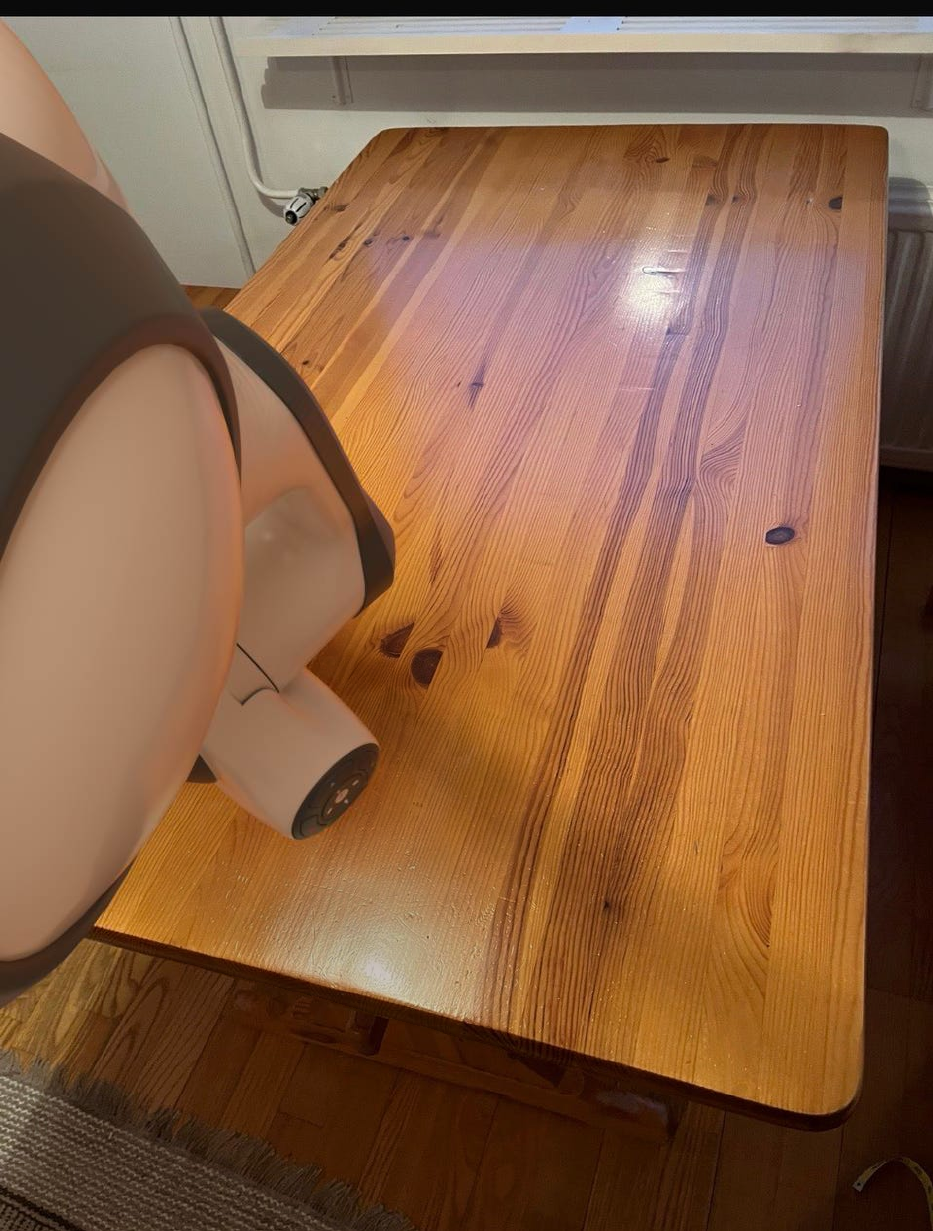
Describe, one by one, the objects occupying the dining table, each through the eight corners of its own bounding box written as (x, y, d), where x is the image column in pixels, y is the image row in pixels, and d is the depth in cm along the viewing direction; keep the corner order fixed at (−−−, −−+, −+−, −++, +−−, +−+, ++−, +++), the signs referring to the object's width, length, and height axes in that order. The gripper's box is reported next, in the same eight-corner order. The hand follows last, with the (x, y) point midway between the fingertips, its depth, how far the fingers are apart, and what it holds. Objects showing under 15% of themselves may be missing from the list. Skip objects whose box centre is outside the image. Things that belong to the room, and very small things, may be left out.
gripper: (293, 534, 63) (178, 454, 70) (25, 729, 54) (-76, 616, 61) (314, 595, 68) (204, 515, 75) (71, 784, 59) (-28, 673, 66)
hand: (76, 562), depth 68 cm, fingers closed on beverage can, 5 cm apart
